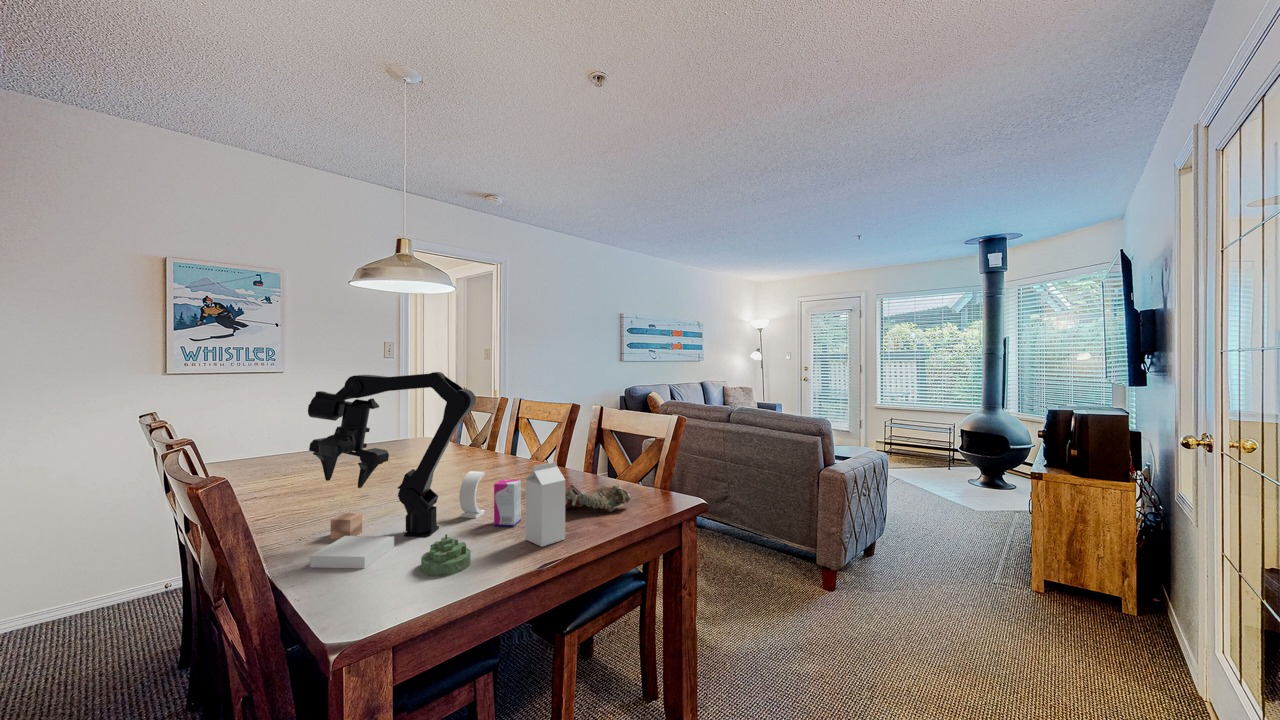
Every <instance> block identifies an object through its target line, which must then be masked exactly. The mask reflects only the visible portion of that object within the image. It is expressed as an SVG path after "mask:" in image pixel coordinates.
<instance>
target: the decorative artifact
mask: <svg viewBox="0 0 1280 720" xmlns="http://www.w3.org/2000/svg"><path fill="white" fill-rule="evenodd" d="M470 566H471V550H470V548H468V547H467V543H466V542H465V541H462V542H459V539H457V538H454V537H448V534H445V535H444V537H441V540H440V541H438V540H437V541H435V542H434V543H432V544H430V549H429V550H428V551H427V552H425V553H424V554H422V556H421V557H420V570H421V572H422V574H423V575H426V576H431V577H444V576H451V575H454V574H458V573H460V572H463V571H465V570H466V569H468V568H469V567H470Z"/></svg>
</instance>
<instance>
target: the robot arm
mask: <svg viewBox="0 0 1280 720" xmlns="http://www.w3.org/2000/svg"><path fill="white" fill-rule="evenodd" d="M423 388H424V389H425V388H426V389H427V388H431V389H432V390H434V392H436V394H437V395H438V396H439V397H440V398H441V399H442V400H443V401H445V402H446V404H445V407H444V410H443V411H444V412H443V417H442V420H441V422H440V424H439V426H438V428H437V430H436V432H435V434H434V436H433V438H432V439H431V442H430V443H429V445H428V447H427V448H426V451H425V452H424V455H423V456H422V458H421V460H420V462H419V465H418V466H417V468H416V469H414V468H412V469H411V470H409V471H408V472H406V473H405V474H404V476H403V479H402V482H401V483H400V485H399V486H398V487H397V489H398V492H397V497H398V500H399V502H400V503H401V504H402V505H403V506H404V509H405V511H406V513H407V514H406V515H405V533H403V536H405V537H430V536H431V535H432V534H434V533H435V532H436V531H437V530H438V529H440V526H439V525H437V506H434V505H435V504H437V502H438V498H439V495H438V494H437V493H436V492H435V491H433V490H432V489H431V486H432V483H433V478H434V473H435V470H436V468H437V466H438V464H439V463H440V461H441V458H442V457H443V455H444V453H445V451H446V449H447V447H448V445H449V443H450V441H451V440H452V438H453V435H454V434H455V432H456V430H457V428H458V426H459V424H460V423H461V422H462V421H463V419H465V418H466V417H467V415H469V413H470V412H471V410H472V409H473V408H474V406H475V404H476V402H477V398H476V395H475V394H474V392H473V391H472V390H470V389H467V388H463V387H462V386H461V385H460V384H458V383H456V382H454V381H453V380H451V379H450V378H448V377H447V376H445V374H444V373H443V372H441V371H435V372H434V371H433V372H430V373H421V374H409V375H397V376H396V375H395V376H384V375H373V374H356V375H351V376H349V377H348V378H347V379H346V380H345V382H344V386H343V387H341V388H340V389H339V390H338V391H337V392H336V393H331V392H327V391H324V390H323V391H322V390H319V391H315V395H314V396H313V397H312V398H311V400H310V403H309V404H308V406H307V414H308V417H310V418H312V419H313V418H314V419H319V420H328V421H337V420H338V419H340V418H341V423H340V426H336V428H335V430H334V431H335V432H334V434H331V435H328V436H327V437H322V438H316V439H313V440H312V441H311V442H310V443H309V447H308V451H310V452H312V454H313V455H314V456H316V457H317V458H318V459H319V460H320V463H321V466H322V470H323V473H324V479H325V481H326V482H328V481H331V478H332V477H333V474H334V471H335V467H336V464H337V461H338V458H339V456H341V455H342V454H344V455H345V454H346V455H350V456H355V457H359V460H360V462H358V463H357V464H358V465H357V466H359V475H358V480H357V488H358V489H361V488H362V487H363V486H364V485H365V484H366V482H367V481H368V479H369V477H370V476H371V474H372V473H374V471H375V470H376V468H377V467H378V466H379V465H382V464H383V463H386V462H388V461H389V457H390V454H389V452H388V450H387V449H382V448H377V447H374V448H368V447H367V446H368V443H366V442H365V438H366V433H370V430H371V429H370V427H368V426H367V425H368V423H369V422H368V420H369V415H370V410H375V409H378V408H380V405H379V404H378V403H377V401H376V400H375V398H369V399H367V400H363V399H362V398H366V397H370V396H374V395H379V394H382V393H386V392H391V391H393V392H395V391H403V390H414V389H415V390H416V389H423ZM360 398H361V399H360ZM352 399H354V400H353V401H349V400H352ZM366 448H368V449H366Z"/></svg>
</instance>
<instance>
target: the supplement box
mask: <svg viewBox="0 0 1280 720" xmlns="http://www.w3.org/2000/svg"><path fill="white" fill-rule="evenodd" d="M521 485H522V480H521V479H501V480H498V481H497V482H495V483H494V484H493V488H494V489H493V526H494V527H506V528H507V527H509V528H513V527H515V526H517V524H519V523H520V521H522V486H521Z"/></svg>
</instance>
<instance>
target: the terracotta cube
mask: <svg viewBox="0 0 1280 720" xmlns="http://www.w3.org/2000/svg"><path fill="white" fill-rule="evenodd" d="M362 533H363V513H361V512H360V513H359V512H358V513H356V512H355V513H353V512H343V513H341V514H339V515H337V516H334V517H333V518H331V519H330V540H338V539H340V538H342V537H344V536H360V534H362Z"/></svg>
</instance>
